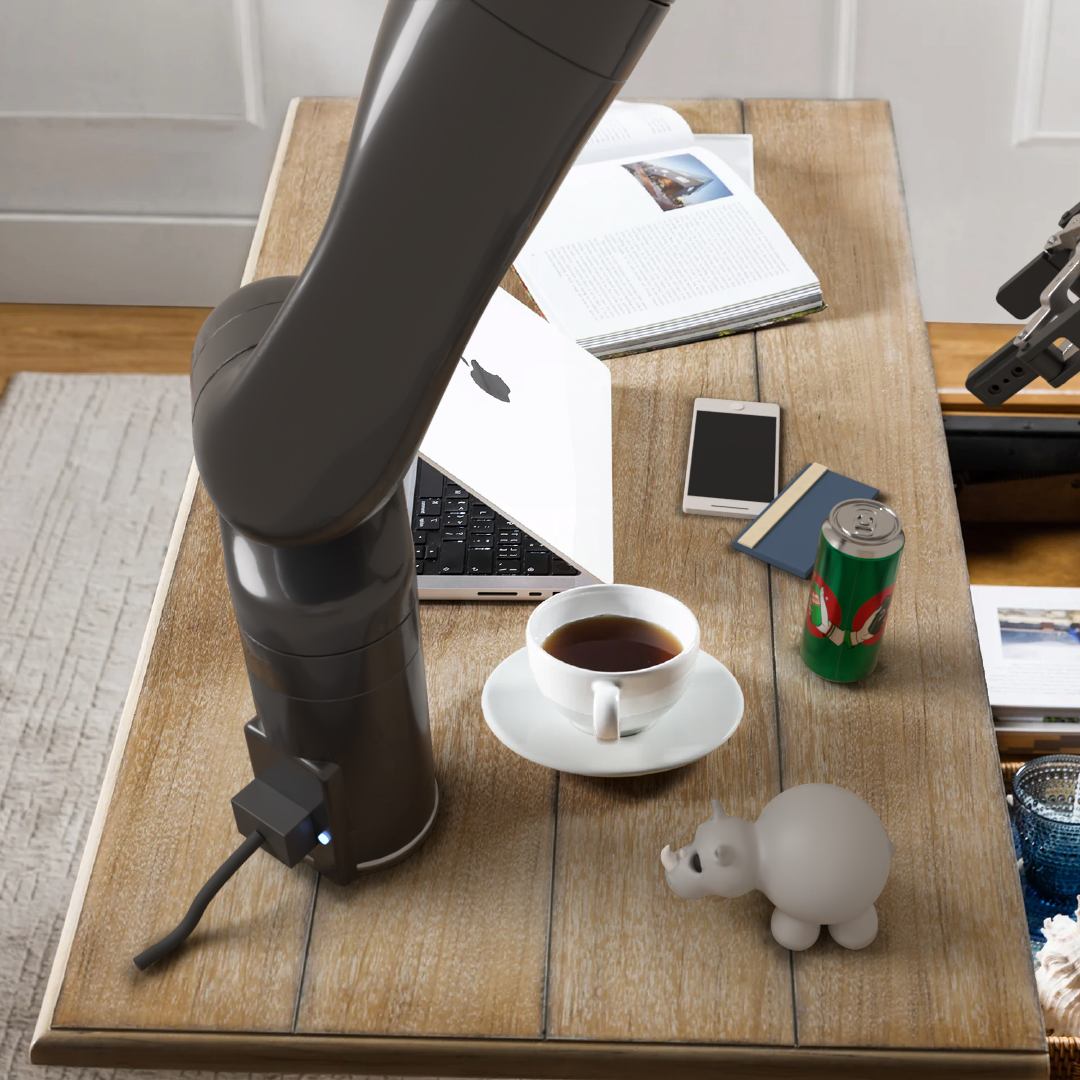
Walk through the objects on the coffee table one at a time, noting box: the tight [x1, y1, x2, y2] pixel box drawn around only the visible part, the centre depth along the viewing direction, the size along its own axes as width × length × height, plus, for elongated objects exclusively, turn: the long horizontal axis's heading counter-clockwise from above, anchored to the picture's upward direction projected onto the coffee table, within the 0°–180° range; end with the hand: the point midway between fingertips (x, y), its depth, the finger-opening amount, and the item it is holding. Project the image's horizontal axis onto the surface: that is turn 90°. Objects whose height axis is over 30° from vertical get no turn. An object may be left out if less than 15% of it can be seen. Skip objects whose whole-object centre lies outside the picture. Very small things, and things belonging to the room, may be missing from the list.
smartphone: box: [682, 397, 781, 520], centre depth 102 cm, size 7×15×1 cm, turn 171°
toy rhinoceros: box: [660, 782, 896, 952], centre depth 67 cm, size 7×12×8 cm, turn 89°
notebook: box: [732, 461, 880, 580], centre depth 96 cm, size 12×6×1 cm, turn 143°
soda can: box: [799, 499, 906, 684], centre depth 81 cm, size 5×5×12 cm
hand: (993, 349), depth 69 cm, fingers open, 8 cm apart
